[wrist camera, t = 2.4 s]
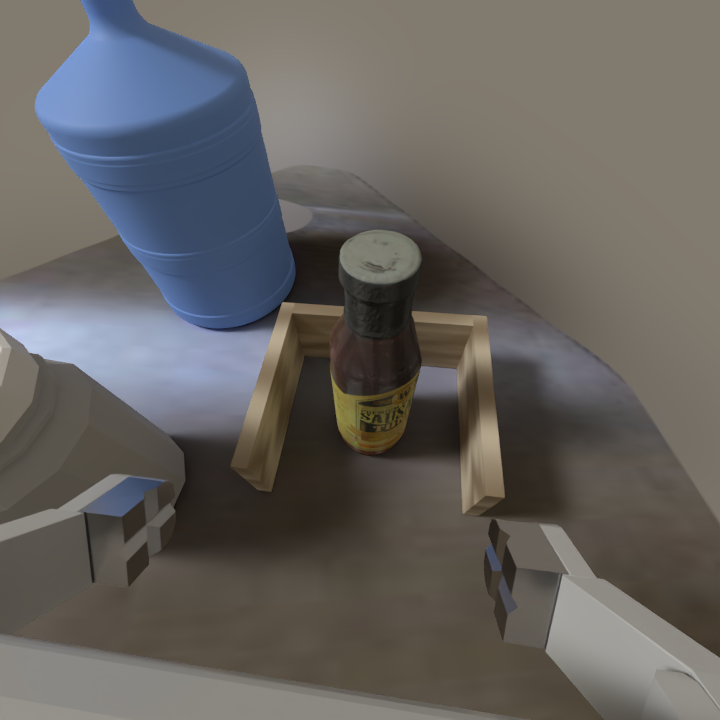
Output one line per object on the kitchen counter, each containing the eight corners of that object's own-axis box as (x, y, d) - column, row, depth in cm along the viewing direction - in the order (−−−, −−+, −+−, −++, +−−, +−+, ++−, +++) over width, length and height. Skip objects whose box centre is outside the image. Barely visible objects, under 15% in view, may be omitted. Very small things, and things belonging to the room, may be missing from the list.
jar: (172, 415, 34) (14, 279, 19) (208, 504, 30) (36, 417, 14) (65, 473, 31) (-219, 366, 16) (86, 580, 27) (-282, 570, 12)
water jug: (280, 337, 39) (141, -42, 15) (148, 327, 40) (-164, -36, 17) (308, 245, 47) (245, -92, 24) (197, 239, 49) (35, -85, 25)
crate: (477, 516, 28) (504, 497, 23) (257, 490, 30) (230, 466, 24) (468, 359, 37) (486, 316, 31) (296, 345, 38) (282, 302, 32)
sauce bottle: (365, 472, 31) (356, 335, 14) (325, 419, 33) (278, 253, 17) (421, 429, 33) (472, 264, 16) (379, 382, 35) (385, 201, 19)
